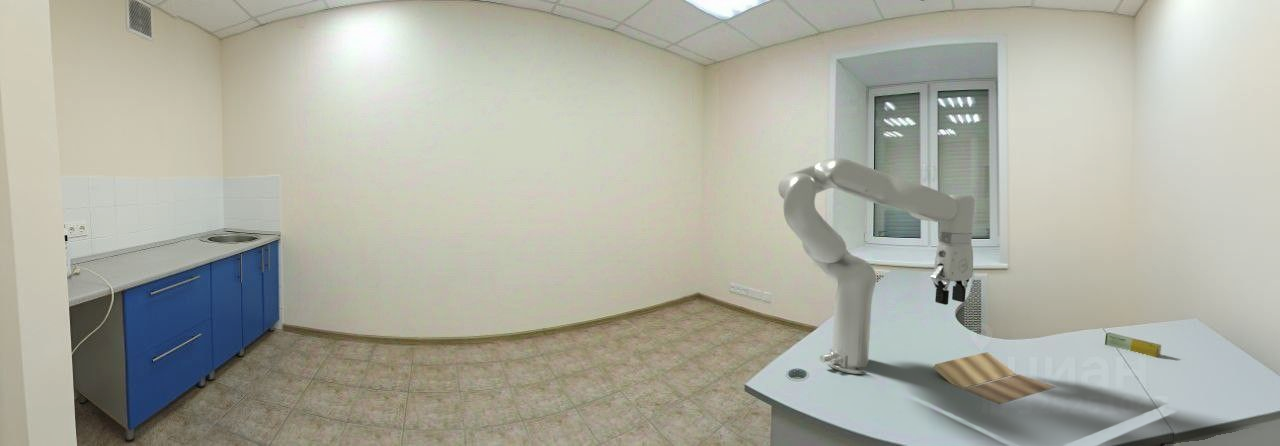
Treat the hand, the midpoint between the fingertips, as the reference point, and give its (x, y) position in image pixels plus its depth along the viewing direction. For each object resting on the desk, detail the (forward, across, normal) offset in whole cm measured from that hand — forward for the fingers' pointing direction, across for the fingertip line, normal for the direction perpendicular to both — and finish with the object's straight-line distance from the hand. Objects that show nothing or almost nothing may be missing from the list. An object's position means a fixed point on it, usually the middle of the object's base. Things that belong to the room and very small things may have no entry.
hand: (950, 301), depth 125 cm
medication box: (+20, +70, -13) cm, 74 cm away
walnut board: (+20, 0, -16) cm, 25 cm away
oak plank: (+18, 0, -7) cm, 19 cm away
